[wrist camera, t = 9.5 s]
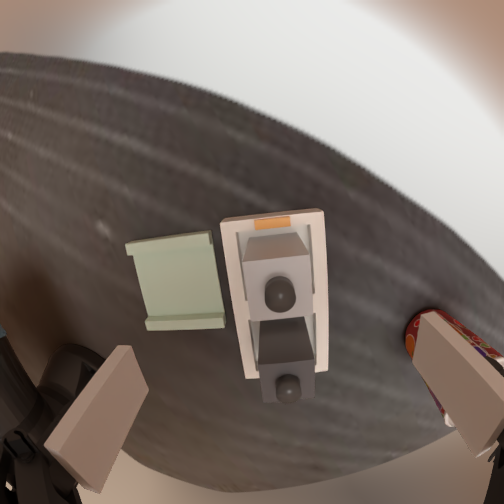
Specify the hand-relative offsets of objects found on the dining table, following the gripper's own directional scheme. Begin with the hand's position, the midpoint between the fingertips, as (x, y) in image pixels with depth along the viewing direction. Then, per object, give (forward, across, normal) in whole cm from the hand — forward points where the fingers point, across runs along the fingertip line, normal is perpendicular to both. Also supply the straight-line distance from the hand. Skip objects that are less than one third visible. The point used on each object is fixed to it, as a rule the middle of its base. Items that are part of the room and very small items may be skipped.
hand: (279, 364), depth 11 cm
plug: (+16, +1, 0) cm, 16 cm away
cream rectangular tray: (+17, +1, -4) cm, 18 cm away
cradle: (+17, -10, -2) cm, 20 cm away
